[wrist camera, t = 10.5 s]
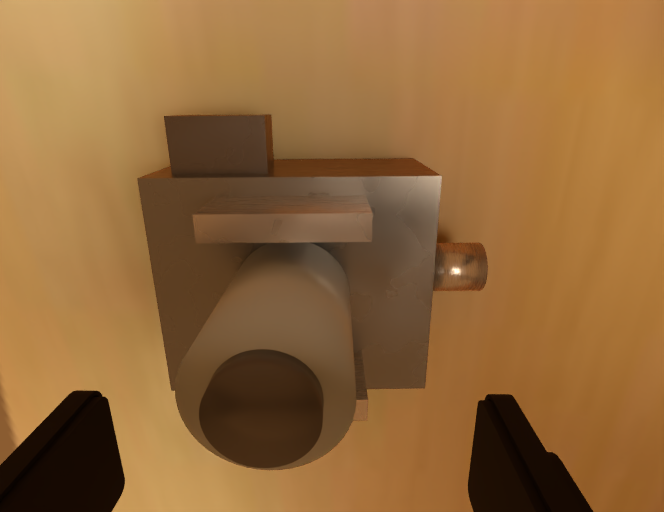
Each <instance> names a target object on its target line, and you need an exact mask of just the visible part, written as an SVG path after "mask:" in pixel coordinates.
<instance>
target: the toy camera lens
mask: <svg viewBox="0 0 664 512" xmlns="http://www.w3.org/2000/svg"><path fill="white" fill-rule="evenodd" d="M175 396H176V402H177V407H178V410H179V413H180V415H181V418H182V420H183V422H184V423H185V425H186V427H187V428H188V430H189V431H190V432H191V434H192V435H193V436H194V437H195V438H196V439H197V440H198V442H199V443H201V444H202V445H203V446H204V447H205V448H207V449H208V450H209V451H211V452H212V453H214V454H215V455H217V456H219V457H221V458H223V459H225V460H227V461H229V462H232V463H234V464H237V465H240V466H244V467H248V468H254V469H261V470H282V469H289V468H294V467H298V466H302V465H305V464H307V463H310V462H312V461H314V460H316V459H318V458H320V457H322V456H323V455H325V454H326V453H328V452H329V451H331V450H332V449H333V448H334V447H335V446H336V445H337V444H338V443H339V442H340V441H341V440H342V438H343V437H344V436H345V434H346V433H347V431H348V430H349V427H350V425H351V423H352V421H353V417H354V414H355V409H356V383H355V368H354V352H353V337H352V322H351V306H350V291H349V284H348V280H347V277H346V274H345V272H344V270H343V268H342V267H341V266H340V264H339V263H338V261H337V260H336V259H335V258H334V257H333V256H332V255H331V254H329V253H328V252H327V251H326V250H324V249H322V248H321V247H319V246H317V245H315V244H312V243H309V242H293V243H268V244H266V245H263V246H261V247H260V248H258V249H256V250H255V251H254V252H253V253H251V254H250V255H249V256H248V257H247V258H246V260H245V261H244V262H243V264H242V265H241V267H240V268H239V270H238V271H237V273H236V275H235V276H234V278H233V280H232V281H231V283H230V284H229V286H228V288H227V289H226V291H225V292H224V294H223V296H222V297H221V299H220V300H219V302H218V304H217V305H216V307H215V308H214V310H213V312H212V313H211V315H210V316H209V318H208V320H207V321H206V323H205V324H204V326H203V328H202V329H201V331H200V333H199V334H198V336H197V337H196V339H195V341H194V342H193V344H192V345H191V347H190V349H189V350H188V352H187V353H186V355H185V357H184V358H183V360H182V362H181V365H180V367H179V369H178V373H177V377H176V384H175Z"/></svg>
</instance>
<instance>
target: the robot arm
mask: <svg viewBox="0 0 664 512" xmlns="http://www.w3.org/2000/svg"><path fill="white" fill-rule="evenodd" d="M124 484H125V478H124V473H123V468H122V463H121V459H120V454H119V449H118V445H117V440H116V435H115V431H114V426H113V421H112V416H111V412H110V407H109V402H108V399H107V398H106V397H102V394H101V393H100V392H99V391H73V392H72V393H70V394H69V395H68V396H67V397H66V398H65V399H64V400H63V401H62V402H61V403H60V404H59V405H58V406H57V407H56V409H55V410H54V411H53V412H52V413H51V414H50V415H49V416H48V417H47V418H46V419H45V420H44V421H43V422H42V423H41V424H40V425H39V426H38V427H37V428H36V429H35V430H34V431H33V432H32V433H31V434H30V435H29V436H28V437H27V438H26V439H25V440H24V441H23V442H22V443H21V444H20V446H19V447H18V448H17V449H16V450H15V451H14V452H13V453H12V454H11V455H10V456H9V457H8V458H7V459H6V460H5V461H4V462H3V463H2V464H1V465H0V512H112V510H113V508H114V507H115V505H116V503H117V501H118V500H119V498H120V496H121V494H122V492H123V489H124ZM468 493H469V498H470V502H471V505H472V508H473V511H474V512H593V510H592V509H591V507H590V506H589V504H588V503H587V501H586V499H585V498H584V496H583V495H582V493H581V491H580V490H579V488H578V487H577V485H576V483H575V482H574V480H573V479H572V477H571V476H570V474H569V472H568V471H567V469H566V468H565V466H564V464H563V463H562V461H561V460H560V459H559V457H558V456H557V455H556V454H554V453H553V452H546V450H545V448H544V447H543V445H542V443H541V442H540V440H539V438H538V437H537V435H536V433H535V432H534V430H533V428H532V427H531V425H530V423H529V422H528V420H527V418H526V417H525V415H524V413H523V412H522V410H521V408H520V407H519V405H518V403H517V402H516V400H515V399H514V397H513V396H512V395H506V394H488V395H487V396H486V398H485V400H480V401H479V402H478V407H477V415H476V423H475V431H474V439H473V447H472V455H471V463H470V471H469V479H468Z"/></svg>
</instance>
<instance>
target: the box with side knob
mask: <svg viewBox="0 0 664 512" xmlns="http://www.w3.org/2000/svg"><path fill="white" fill-rule="evenodd" d="M164 120H165V127H166V135H167V142H168V150H169V157H170V165H171V166H170V167H167V168H164V169H161V170H159V171H156V172H153V173H151V174H148V175H145V176H142V177H140V178H137V179H138V185H139V191H140V198H141V204H142V210H143V216H144V222H145V229H146V235H147V241H148V247H149V254H150V260H151V266H152V272H153V278H154V285H155V291H156V297H157V303H158V309H159V316H160V322H161V328H162V334H163V341H164V347H165V353H166V359H167V365H168V372H169V378H170V384H171V390H172V391H175V384H176V377H177V373H178V369H179V367H180V365H181V362H182V360H183V358H184V357H185V355H186V353H187V352H188V350H189V349H190V347H191V345H192V344H193V342H194V341H195V339H196V337H197V336H198V334H199V333H200V331H201V329H202V328H203V326H204V324H205V323H206V321H207V320H208V318H209V316H210V315H211V313H212V312H213V310H214V308H215V307H216V305H217V304H218V302H219V300H220V299H221V297H222V296H223V294H224V292H225V291H226V289H227V288H228V286H229V284H230V283H231V281H232V280H233V278H234V276H235V275H236V273H237V271H238V270H239V268H240V267H241V265H242V264H243V262H244V261H245V260H246V258H247V257H248V256H249V255H250V254H251V253H253V252H254V251H255V250H256V249H258V248H260V247H261V246H263V245H266V244H268V243H293V242H309V243H312V244H315V245H317V246H319V247H321V248H322V249H324V250H326V251H327V252H328V253H329V254H331V255H332V256H333V257H334V258H335V259H336V260H337V261H338V263H339V264H340V266H341V267H342V268H343V270H344V272H345V274H346V277H347V280H348V284H349V291H350V306H351V322H352V337H353V352H354V368H355V383H356V409H355V414H354V417H353V421H365V420H367V412H368V397H367V390H366V389H402V388H425V382H426V369H427V356H428V344H429V331H430V319H431V306H432V293H433V291H480V290H482V289H483V288H484V286H485V283H486V279H487V270H488V265H487V256H486V252H485V249H484V247H483V245H482V244H481V243H437V231H438V218H439V205H440V193H441V180H442V176H441V175H439V174H438V173H436V172H435V171H433V170H431V169H430V168H428V167H426V166H425V165H423V164H422V163H420V162H418V161H417V160H415V159H413V158H409V159H282V160H274V159H273V140H272V121H271V115H176V116H164Z"/></svg>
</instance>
